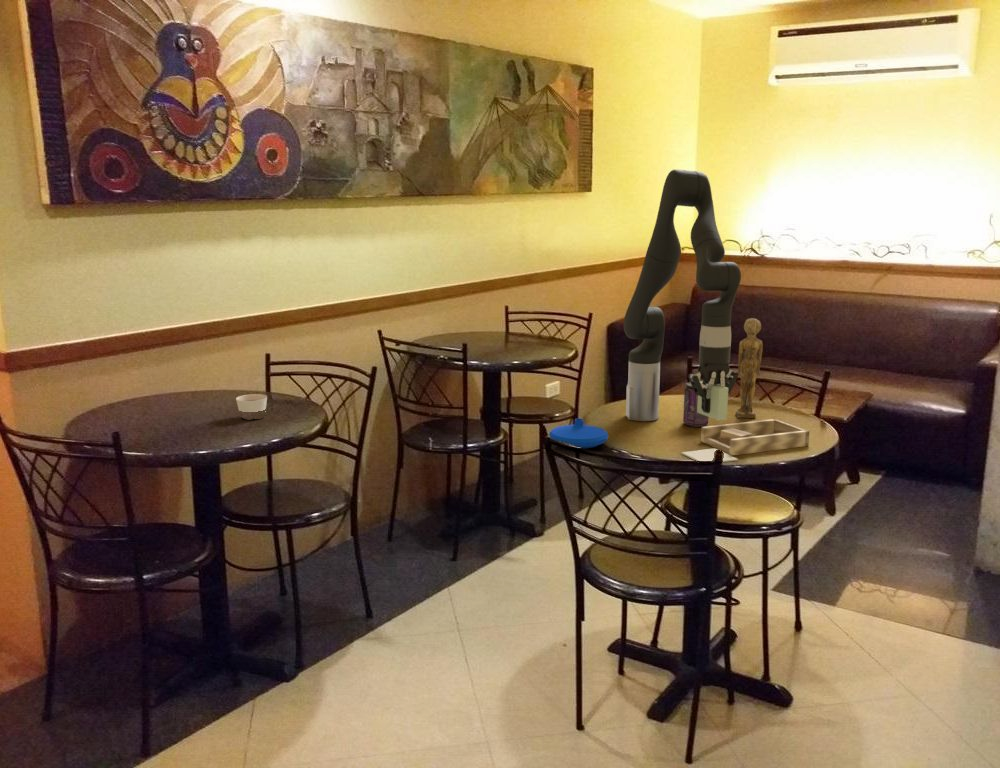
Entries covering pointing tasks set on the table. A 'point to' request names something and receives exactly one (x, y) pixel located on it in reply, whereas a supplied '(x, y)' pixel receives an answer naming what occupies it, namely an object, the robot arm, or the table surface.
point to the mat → (707, 455)
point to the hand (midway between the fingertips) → (711, 411)
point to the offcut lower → (724, 441)
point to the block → (716, 403)
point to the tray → (757, 436)
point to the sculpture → (749, 366)
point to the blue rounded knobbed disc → (579, 434)
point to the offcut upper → (733, 434)
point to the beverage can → (692, 409)
